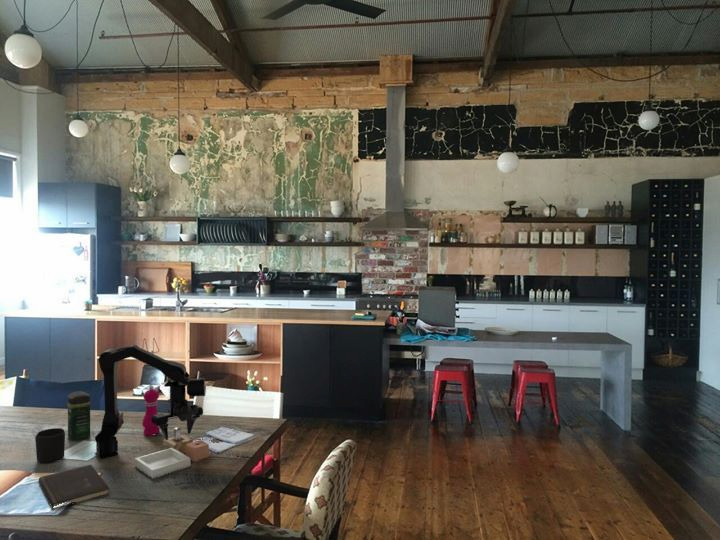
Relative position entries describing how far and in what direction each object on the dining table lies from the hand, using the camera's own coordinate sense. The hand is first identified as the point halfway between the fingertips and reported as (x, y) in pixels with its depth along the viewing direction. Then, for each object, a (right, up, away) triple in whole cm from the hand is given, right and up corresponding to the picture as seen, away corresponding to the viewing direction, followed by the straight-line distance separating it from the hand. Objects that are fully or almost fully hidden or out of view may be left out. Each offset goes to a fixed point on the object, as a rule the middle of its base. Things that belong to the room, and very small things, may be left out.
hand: (177, 436), depth 200 cm
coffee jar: (-45, -4, +13) cm, 47 cm away
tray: (0, -6, -15) cm, 16 cm away
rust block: (+9, -6, -6) cm, 12 cm away
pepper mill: (-17, -5, +18) cm, 26 cm away
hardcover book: (-23, -7, -31) cm, 40 cm away
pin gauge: (0, -4, 0) cm, 4 cm away
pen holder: (-44, -6, -9) cm, 45 cm away
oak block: (0, -6, 0) cm, 6 cm away
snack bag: (+14, -6, +11) cm, 18 cm away
